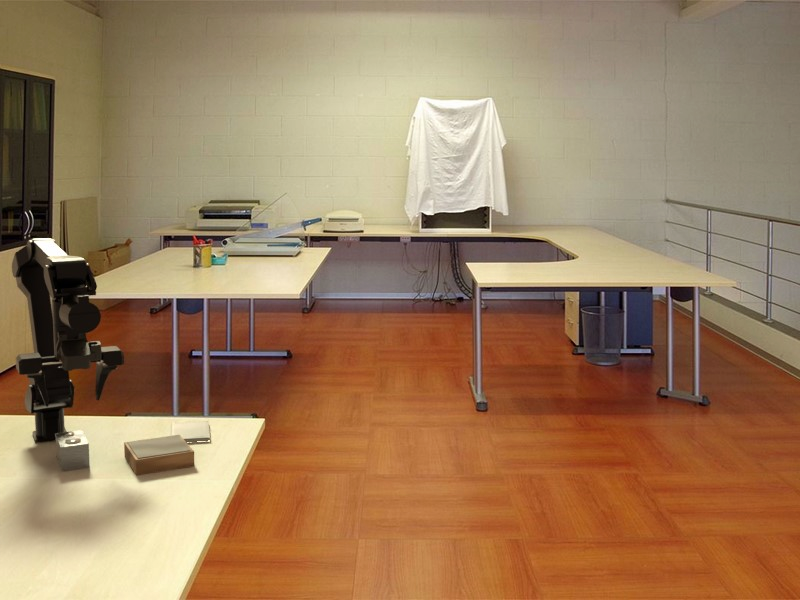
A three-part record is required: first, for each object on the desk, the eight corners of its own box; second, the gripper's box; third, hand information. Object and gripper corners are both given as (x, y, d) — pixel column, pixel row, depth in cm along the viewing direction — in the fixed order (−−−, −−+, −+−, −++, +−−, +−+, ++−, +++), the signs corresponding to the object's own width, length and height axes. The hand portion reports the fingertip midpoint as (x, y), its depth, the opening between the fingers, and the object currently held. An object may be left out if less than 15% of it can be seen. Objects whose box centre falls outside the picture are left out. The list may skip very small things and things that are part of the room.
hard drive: (210, 437, 170) (208, 419, 182) (170, 439, 168) (171, 421, 180) (210, 444, 170) (208, 426, 182) (170, 447, 168) (171, 428, 180)
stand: (124, 456, 160) (124, 441, 160) (179, 448, 166) (179, 434, 165) (136, 475, 151) (135, 459, 150) (194, 465, 156) (194, 450, 156)
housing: (56, 457, 160) (55, 432, 159) (83, 453, 162) (82, 429, 161) (61, 472, 152) (60, 446, 151) (89, 468, 154) (88, 442, 153)
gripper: (20, 336, 141) (24, 421, 143) (129, 327, 151) (131, 407, 153) (13, 324, 150) (17, 405, 153) (116, 317, 160) (119, 393, 162)
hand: (72, 403), depth 155 cm, fingers open, 9 cm apart
